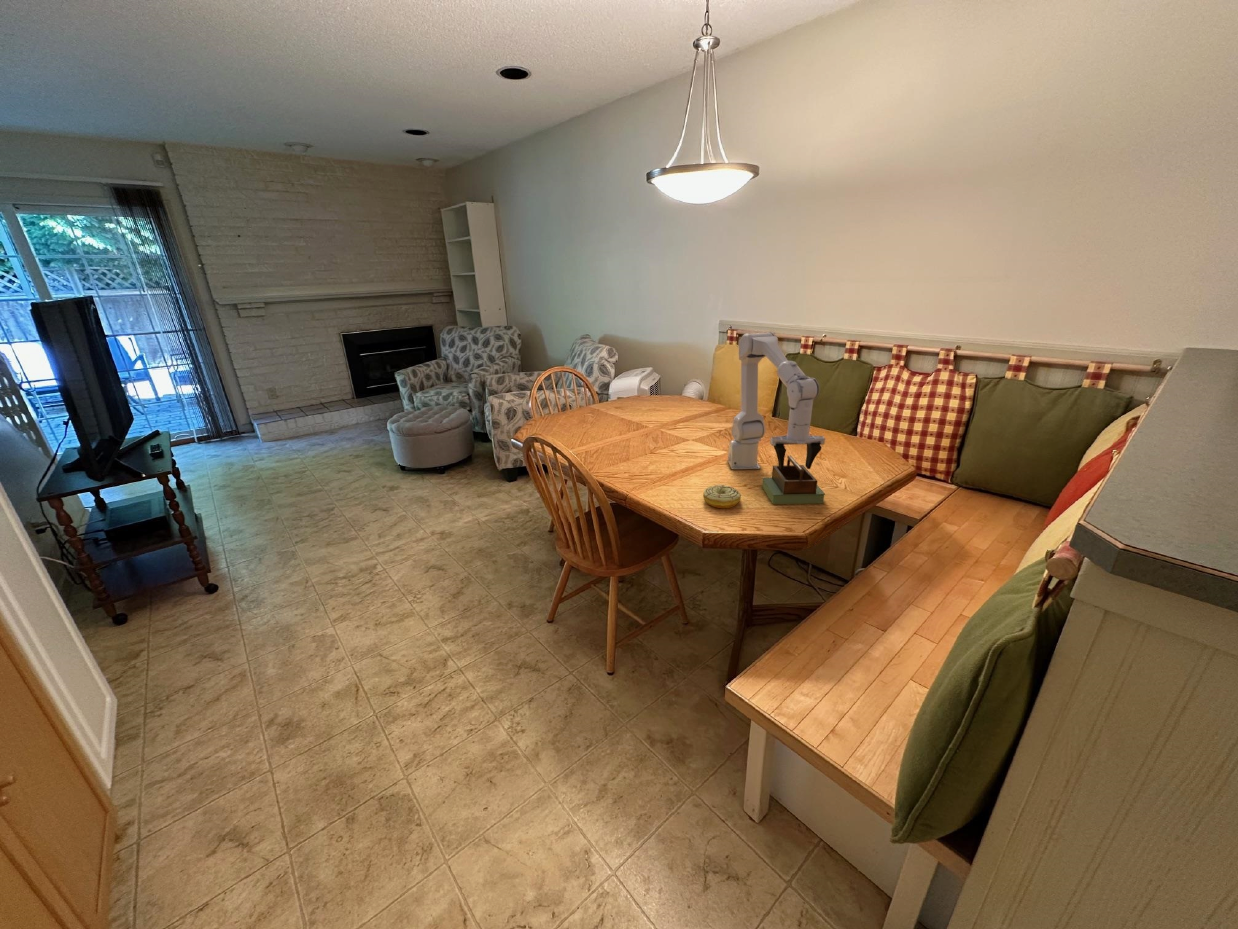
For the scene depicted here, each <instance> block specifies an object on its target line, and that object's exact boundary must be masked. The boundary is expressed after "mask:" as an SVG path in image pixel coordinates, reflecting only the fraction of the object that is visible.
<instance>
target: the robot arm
mask: <svg viewBox="0 0 1238 929" xmlns="http://www.w3.org/2000/svg"><path fill="white" fill-rule="evenodd" d="M764 358H767V359H768V360H769V362H771V364H772V365H773V366H774V367H775V368H776V369H777V370H776V375H777V377H778V378H779V379H780V381H781V382H782V383H783V385H784V386H785V387H786V396H787V399H788V407H789V415H788V423H787V432H786V434H785V435H778V436H771V437H770V440H769V444H770V446H773V448H774V452H775V454H776V458H777V463H778V464H777V465H779V468H780V469H781V470H783V467H784V465H785V457H786V452H787V449H786V446H788V445H790V446H791V445H806V458H805V465H804V467H805V468H806V469H807V470H811V469H812V465H813V463H814V461H815V459H816V457H817V456H818V454H819V453H820V452H821V451H822V447H823V446H824V445H825V442H826V438H825V437H824V436H823V435H811V434H810V430H811V423H812V413H813V406H814V400H815V399H817V398H818V397H819V394H820V384H819V382H818V380H817V378H815V377H810V376H807V375H806V374H805V373H804V371H803V370H802V369H801V368H800V366H798V363H797V362H796V361H793V360H788V358H787V357H786V356H785V354H784V353H783V351H782V349H781V348H780V346H779V338H778V337H777V336H776V334H775V333H774V332H773V331H768V332H756V333H754V332H753V333H744V334H742V336H741V338H740V339H739V340H738V360H739V361H740V411H739V413H737V414H736V415H735V416H734V417H733V419H732V425H731V429H730V430H731V437H732V438H733V439H734V440H730V441H729V442H728V454H727V463H728V464H729V467H730V469H731V470H760V469H761V466H760V465H759V463H758V455H759V445H760V444H759V443H760V442H761V441H762V438H763V437H765V434H766V425H765V417H764V416H763V415H762V414H761V413H759V412H758V400H759V399H758V394H759V393H758V392H759V390H758V388H759V387H758V386H759V383H758V382H759V379H758V378H759V363H760V362H761V361H762V359H764ZM785 445H786V446H785ZM822 445H823V446H822Z"/></svg>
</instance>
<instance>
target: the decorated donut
mask: <svg viewBox="0 0 1238 929" xmlns="http://www.w3.org/2000/svg"><path fill="white" fill-rule="evenodd" d="M702 494H703V495H702V497H703V500H704V502H705V503H706V504H708V505H709V506H710V507H713V508H717V509H731V508H733V507H735V506H737V505H738V504H739V502H740V501H741V498H742V494H741V492H740V491H739V490H738V489H736V488H735V487H734V486H730V485H727V484H725V485H724V484H716V485H712V486H709V487H707V488H705V489H704V491H703V493H702Z"/></svg>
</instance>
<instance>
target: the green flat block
mask: <svg viewBox="0 0 1238 929" xmlns="http://www.w3.org/2000/svg"><path fill="white" fill-rule="evenodd" d="M761 479H762V484H761V487H762V490H763V491H764V492H765V494H766V496H767V497H768V499H769V500H770V502H771V503H772V505H804V504H805V505H807V504H808V505H809V504H810V505H811V504H813V505H814V504H824V499H825V496H826V493H825V492H824V491H823V489H821V487H820V486H819V485H818V484H817V489H816V494H783V493H782V492H781V490H780V489H779V487H778V486H777V485H776V483H775V482H774V480H773V479H772V476H771V477H761Z"/></svg>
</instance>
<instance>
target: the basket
mask: <svg viewBox="0 0 1238 929" xmlns="http://www.w3.org/2000/svg"><path fill="white" fill-rule="evenodd" d="M786 458H787V459H786V461H787V462H786V464H784V467H783V470H781V469H780V468H779V464H777V465H772V469H771V470H772V471H771V477H772V479H773V480H774V482H775V483H776V485H777V486H778V487H779V489H780V490H781V492H782V493H783V494H816V489H817V485H818V480H817V478H816V477H815V476H814V475H813V474H812V473H811V472H810V471H809V469H807V468H806V467H805V465H804V464H799V463H798V462H797V461H796V459H794V457H793V456H792V455H791V454H789V455H787V456H786Z"/></svg>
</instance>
